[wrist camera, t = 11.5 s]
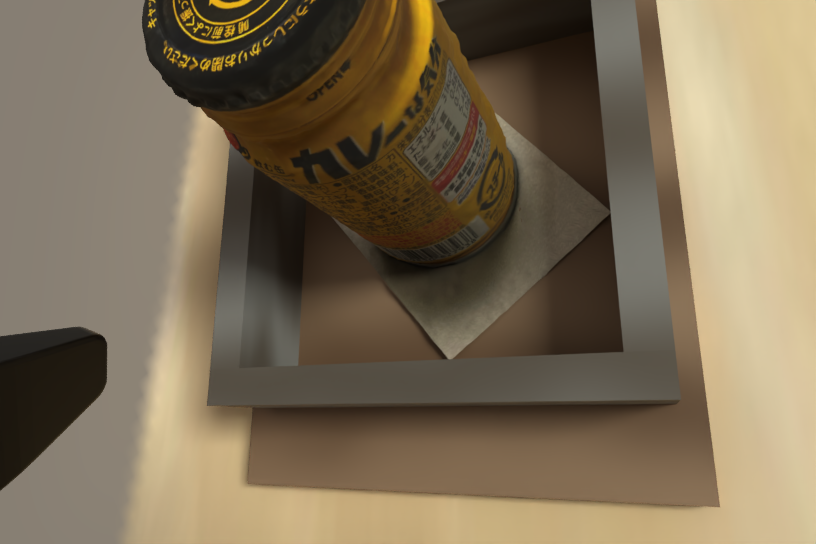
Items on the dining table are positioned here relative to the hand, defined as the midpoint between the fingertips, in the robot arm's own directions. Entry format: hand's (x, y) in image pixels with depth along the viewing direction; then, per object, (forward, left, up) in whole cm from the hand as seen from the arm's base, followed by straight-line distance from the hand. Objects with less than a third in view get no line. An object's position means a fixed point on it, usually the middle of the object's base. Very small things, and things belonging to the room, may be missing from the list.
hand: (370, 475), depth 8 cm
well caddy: (+8, +3, -13) cm, 15 cm away
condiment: (+8, +3, -12) cm, 15 cm away
